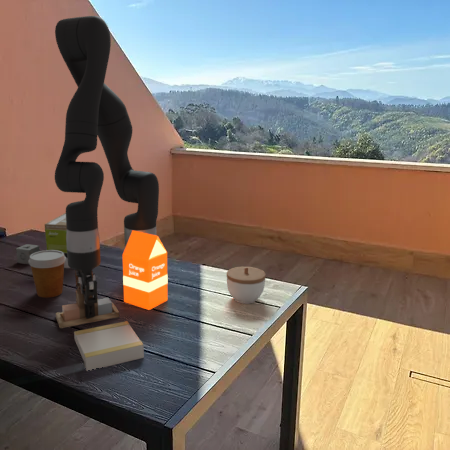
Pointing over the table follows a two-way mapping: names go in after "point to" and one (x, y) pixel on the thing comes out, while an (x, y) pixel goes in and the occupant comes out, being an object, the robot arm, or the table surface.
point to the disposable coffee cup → (48, 272)
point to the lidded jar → (245, 283)
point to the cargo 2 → (104, 306)
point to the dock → (108, 345)
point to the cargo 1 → (70, 312)
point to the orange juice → (145, 271)
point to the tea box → (57, 236)
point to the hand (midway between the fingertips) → (87, 311)
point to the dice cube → (26, 253)
